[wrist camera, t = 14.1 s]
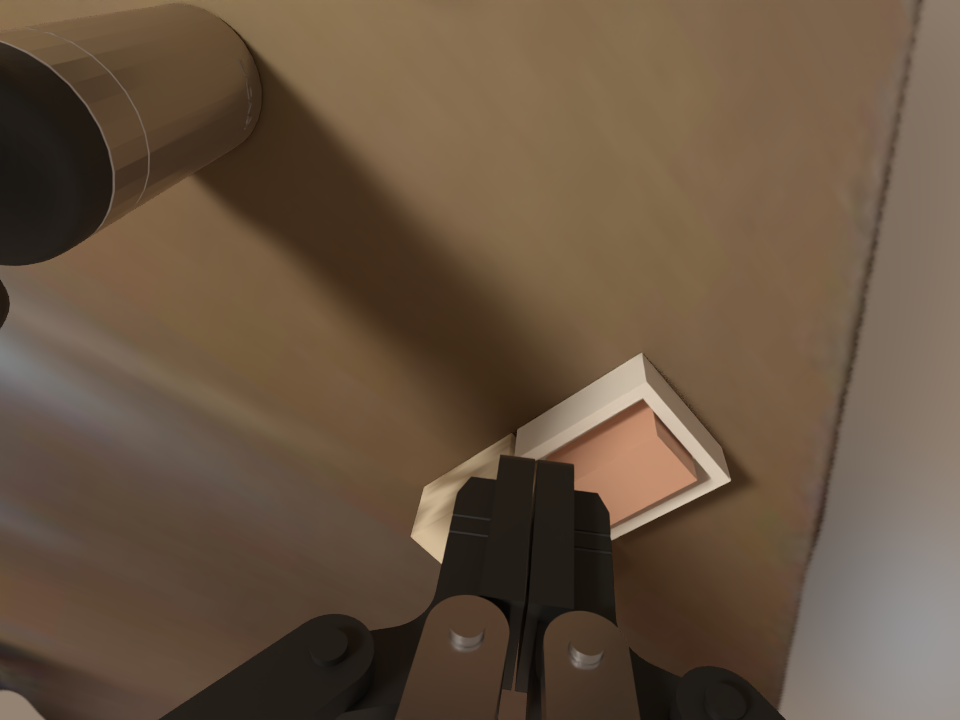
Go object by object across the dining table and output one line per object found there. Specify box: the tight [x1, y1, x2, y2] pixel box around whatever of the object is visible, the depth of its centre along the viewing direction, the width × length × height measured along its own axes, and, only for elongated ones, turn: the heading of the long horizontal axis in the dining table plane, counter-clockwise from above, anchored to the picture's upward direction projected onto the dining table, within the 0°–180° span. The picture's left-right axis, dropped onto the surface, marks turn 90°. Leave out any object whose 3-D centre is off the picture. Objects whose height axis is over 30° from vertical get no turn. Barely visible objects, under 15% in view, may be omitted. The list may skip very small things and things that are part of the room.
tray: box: [514, 353, 731, 540], centre depth 54 cm, size 12×11×4 cm
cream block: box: [411, 433, 538, 564], centre depth 58 cm, size 10×11×6 cm
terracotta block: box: [546, 399, 697, 525], centre depth 53 cm, size 5×5×10 cm
